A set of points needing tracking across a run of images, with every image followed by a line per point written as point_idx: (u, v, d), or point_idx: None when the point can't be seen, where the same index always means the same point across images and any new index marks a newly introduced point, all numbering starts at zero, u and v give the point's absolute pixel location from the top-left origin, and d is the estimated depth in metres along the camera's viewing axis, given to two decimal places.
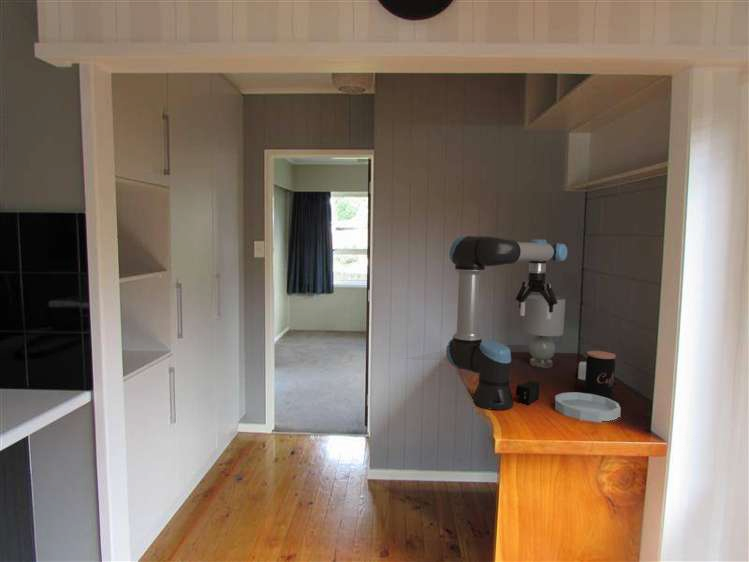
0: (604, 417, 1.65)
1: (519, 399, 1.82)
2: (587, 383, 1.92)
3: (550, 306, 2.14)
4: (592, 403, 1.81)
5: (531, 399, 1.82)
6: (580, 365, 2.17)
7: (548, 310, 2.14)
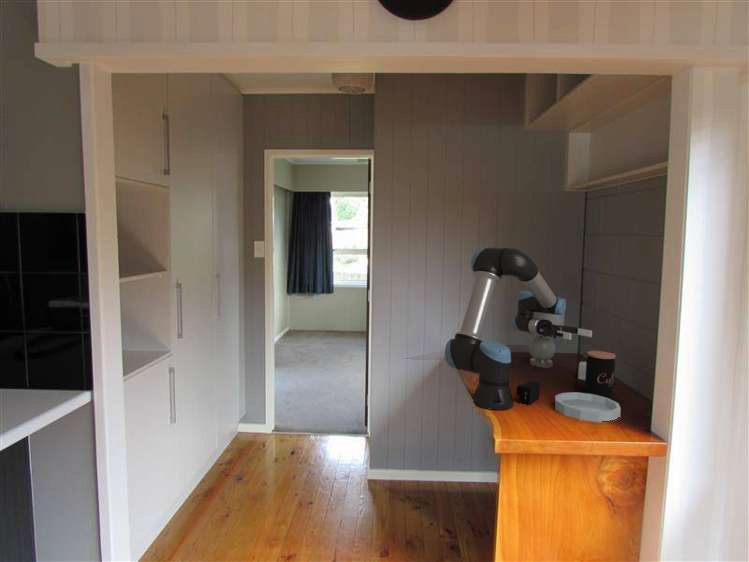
0: (604, 417, 1.65)
1: (520, 399, 1.82)
2: (587, 383, 1.92)
3: None
4: (592, 403, 1.81)
5: (531, 399, 1.82)
6: (580, 365, 2.17)
7: None
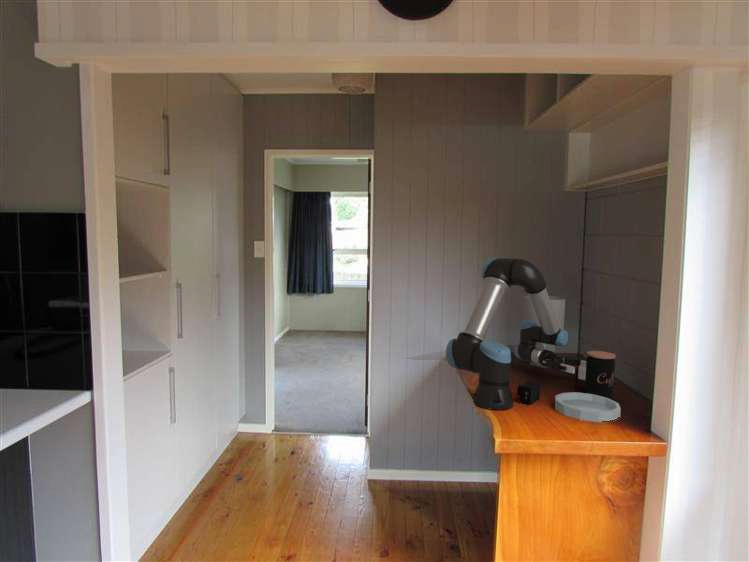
0: (604, 417, 1.65)
1: (520, 399, 1.82)
2: (587, 383, 1.92)
3: None
4: (592, 403, 1.81)
5: (532, 399, 1.82)
6: None
7: None
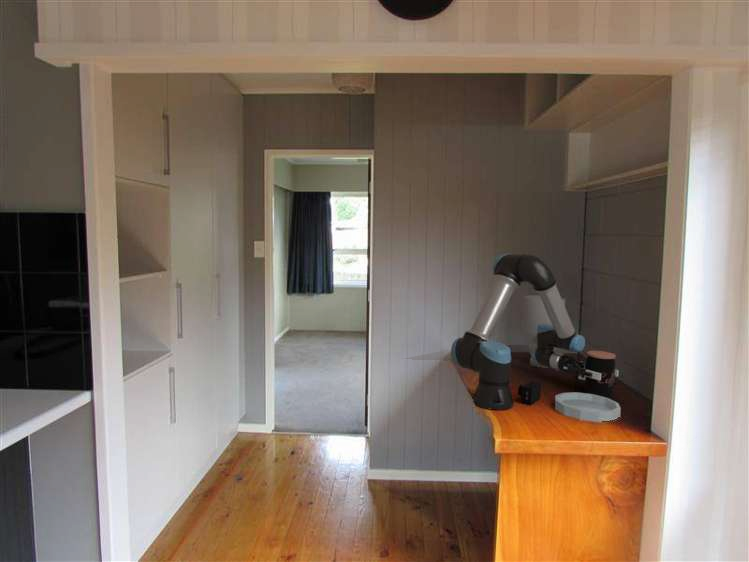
0: (604, 417, 1.65)
1: (521, 399, 1.82)
2: (587, 383, 1.92)
3: None
4: (592, 403, 1.81)
5: (533, 400, 1.82)
6: None
7: None
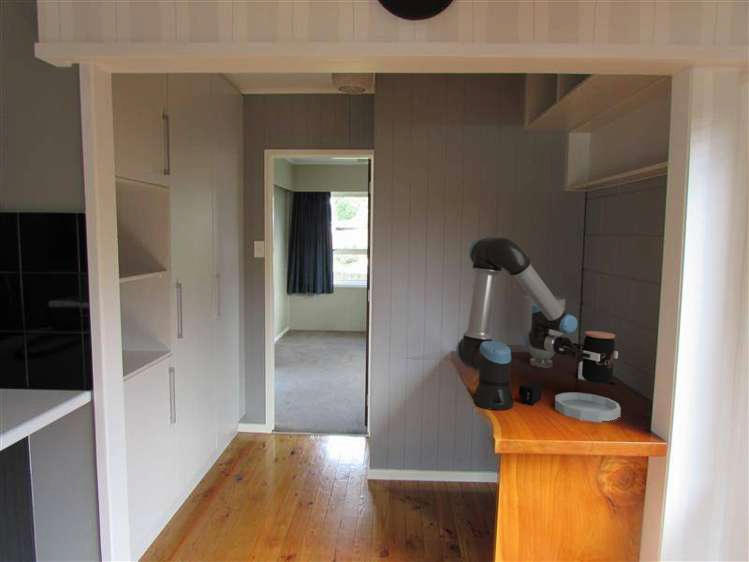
0: (604, 417, 1.65)
1: (522, 400, 1.82)
2: (585, 365, 1.79)
3: None
4: (592, 403, 1.81)
5: (534, 400, 1.82)
6: (580, 365, 2.17)
7: None
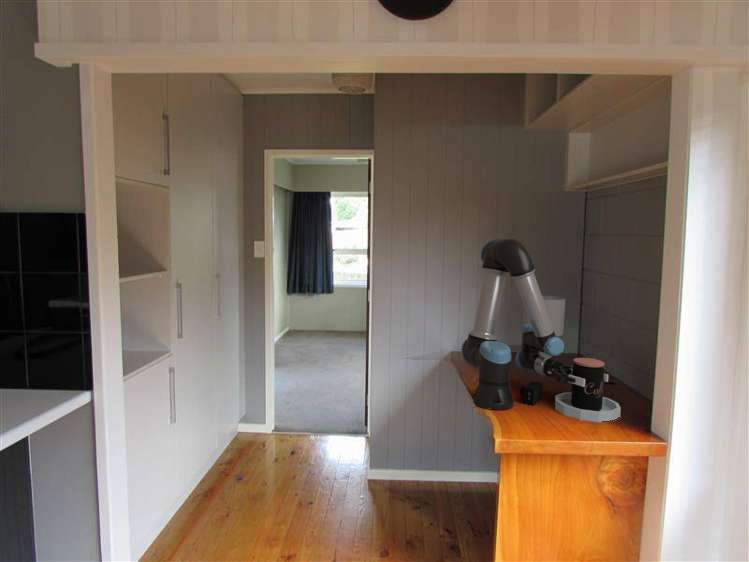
0: (604, 417, 1.65)
1: (523, 400, 1.82)
2: (573, 393, 1.74)
3: None
4: None
5: (535, 400, 1.81)
6: None
7: None
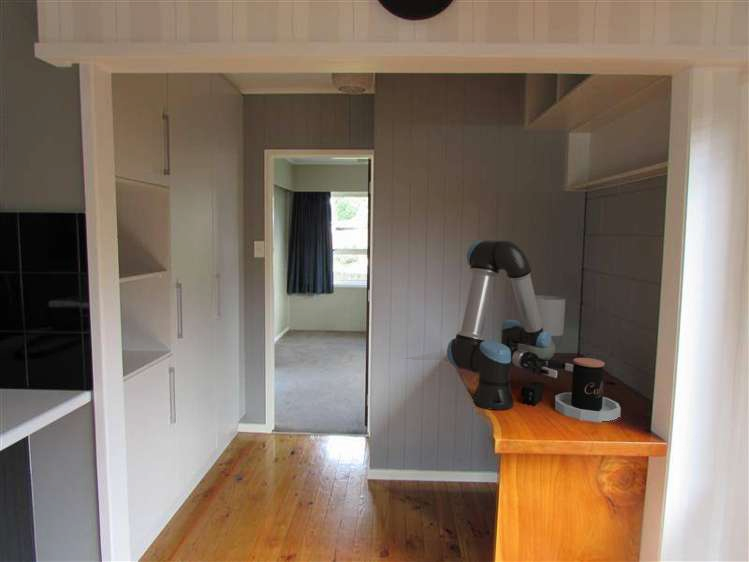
0: (604, 417, 1.65)
1: (524, 400, 1.82)
2: (573, 393, 1.74)
3: None
4: None
5: (536, 400, 1.81)
6: None
7: None
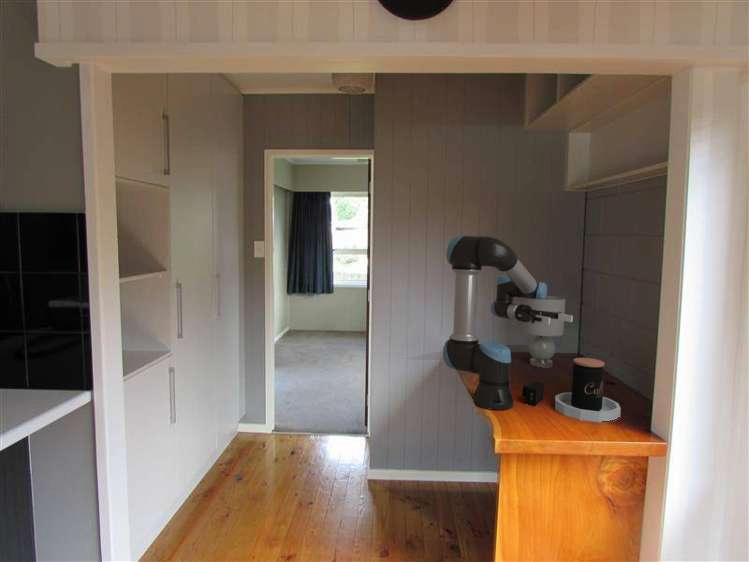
0: (604, 417, 1.65)
1: (525, 400, 1.81)
2: (573, 393, 1.74)
3: None
4: None
5: (537, 400, 1.81)
6: None
7: None
